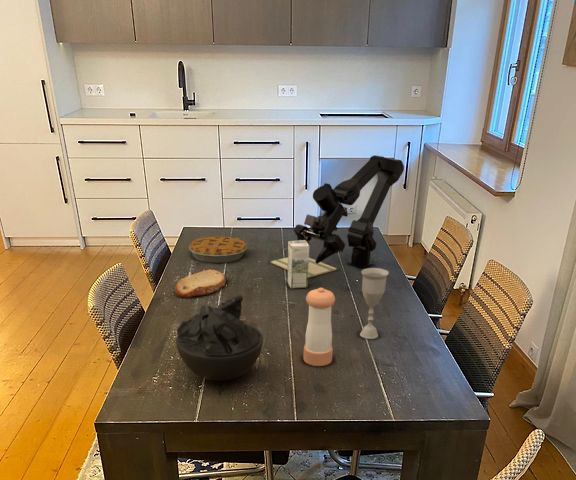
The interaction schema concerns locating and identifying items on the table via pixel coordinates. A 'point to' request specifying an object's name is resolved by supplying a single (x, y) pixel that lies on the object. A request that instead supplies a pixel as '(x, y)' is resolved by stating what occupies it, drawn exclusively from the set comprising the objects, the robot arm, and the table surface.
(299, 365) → the table surface
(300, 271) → the syrup box
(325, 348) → the pepper shaker
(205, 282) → the bread slice
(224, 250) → the pie
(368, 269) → the chalice
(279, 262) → the towel
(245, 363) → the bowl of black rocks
